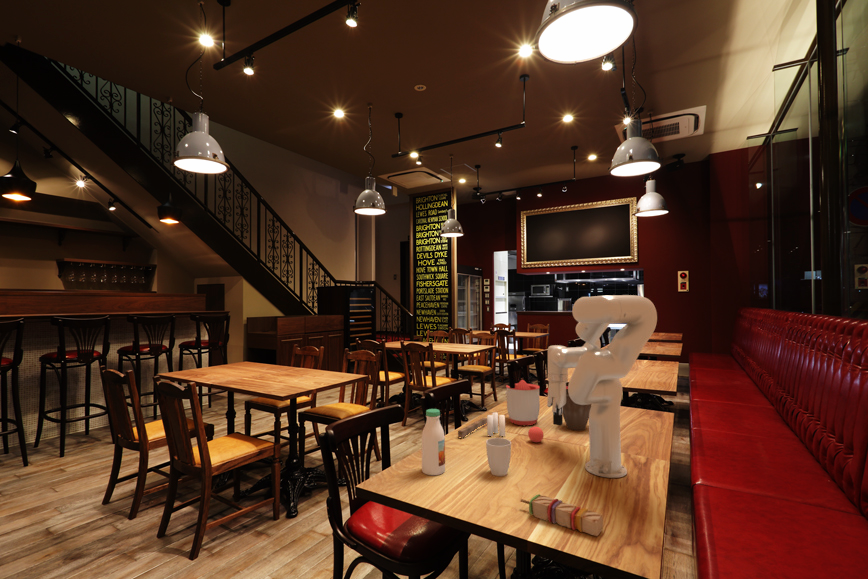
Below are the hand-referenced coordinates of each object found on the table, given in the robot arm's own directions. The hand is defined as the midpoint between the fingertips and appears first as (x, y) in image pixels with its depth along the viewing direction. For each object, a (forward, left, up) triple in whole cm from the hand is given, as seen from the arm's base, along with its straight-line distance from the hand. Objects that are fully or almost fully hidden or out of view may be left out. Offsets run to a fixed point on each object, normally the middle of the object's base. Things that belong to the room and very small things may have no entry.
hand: (557, 424), depth 159 cm
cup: (-37, +9, -8) cm, 39 cm away
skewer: (-56, -16, -9) cm, 59 cm away
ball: (-1, +9, -5) cm, 10 cm away
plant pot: (+26, 0, -8) cm, 28 cm away
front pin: (-1, +23, -8) cm, 25 cm away
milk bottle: (-47, +28, -8) cm, 55 cm away
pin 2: (+2, +28, -8) cm, 29 cm away
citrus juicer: (+23, +24, -8) cm, 34 cm away
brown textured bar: (-1, +37, -8) cm, 38 cm away
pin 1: (-3, +28, -8) cm, 29 cm away
